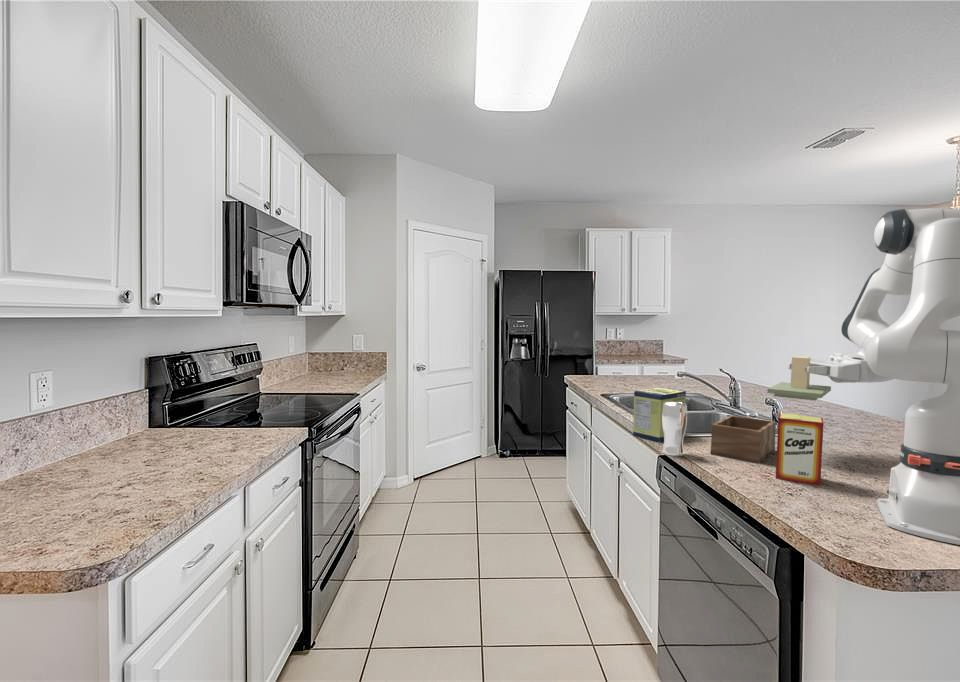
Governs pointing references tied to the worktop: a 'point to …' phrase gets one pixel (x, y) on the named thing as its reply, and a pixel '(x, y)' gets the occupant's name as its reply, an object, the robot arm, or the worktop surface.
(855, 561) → the worktop surface
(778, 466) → the baking soda box
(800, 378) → the lid
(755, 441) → the open wooden box
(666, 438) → the beer glass
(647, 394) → the protein box
